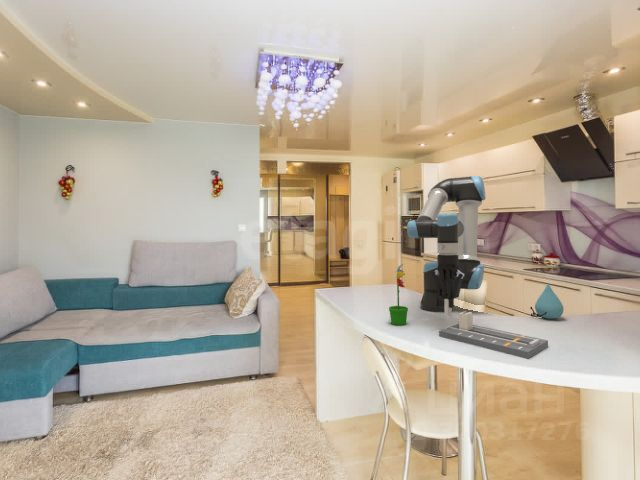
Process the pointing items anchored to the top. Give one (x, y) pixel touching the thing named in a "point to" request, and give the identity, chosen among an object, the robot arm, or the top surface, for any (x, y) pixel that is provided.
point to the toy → (548, 305)
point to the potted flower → (398, 312)
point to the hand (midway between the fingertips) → (448, 315)
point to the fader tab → (466, 320)
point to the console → (496, 340)
